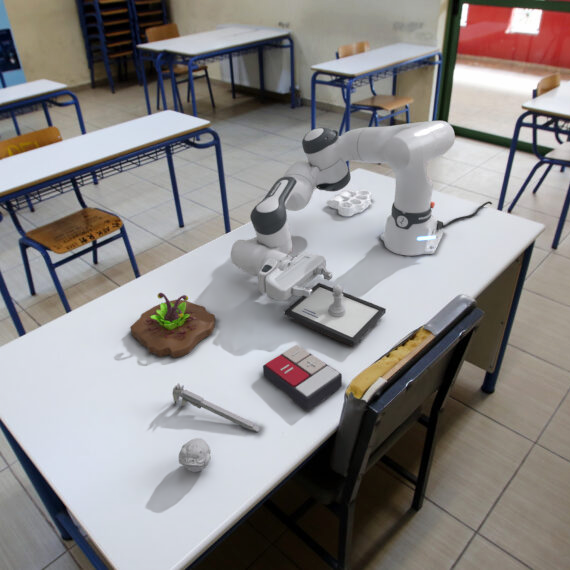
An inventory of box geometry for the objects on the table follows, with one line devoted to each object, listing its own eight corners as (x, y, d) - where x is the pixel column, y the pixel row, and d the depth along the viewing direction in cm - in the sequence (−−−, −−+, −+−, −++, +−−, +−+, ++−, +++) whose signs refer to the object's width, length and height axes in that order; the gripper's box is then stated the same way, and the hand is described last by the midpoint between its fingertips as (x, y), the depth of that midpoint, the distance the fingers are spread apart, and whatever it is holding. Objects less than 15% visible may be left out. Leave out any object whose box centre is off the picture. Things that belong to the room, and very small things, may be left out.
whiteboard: (318, 292, 144) (318, 282, 142) (384, 318, 133) (386, 308, 131) (284, 320, 134) (284, 310, 132) (353, 352, 123) (354, 341, 121)
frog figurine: (176, 481, 95) (170, 457, 91) (187, 450, 100) (183, 427, 96) (207, 485, 94) (202, 462, 90) (217, 454, 99) (213, 430, 95)
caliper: (174, 404, 110) (170, 384, 107) (177, 401, 111) (172, 381, 108) (258, 433, 103) (256, 412, 100) (260, 429, 104) (258, 408, 101)
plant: (174, 298, 143) (168, 265, 137) (226, 322, 134) (223, 288, 127) (119, 336, 130) (109, 302, 123) (172, 366, 120) (165, 330, 114)
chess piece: (348, 315, 130) (350, 289, 125) (331, 318, 129) (332, 293, 124) (342, 304, 134) (343, 279, 129) (325, 308, 133) (326, 283, 128)
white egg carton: (346, 193, 199) (379, 202, 192) (322, 209, 188) (356, 220, 180) (347, 185, 197) (380, 193, 190) (322, 201, 186) (356, 211, 178)
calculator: (296, 341, 121) (342, 371, 111) (297, 355, 123) (342, 386, 113) (261, 363, 115) (306, 397, 105) (263, 377, 117) (307, 411, 107)
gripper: (301, 261, 146) (341, 277, 139) (256, 295, 133) (298, 314, 126) (301, 243, 142) (342, 257, 135) (254, 275, 129) (298, 293, 122)
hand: (321, 285), depth 130 cm, fingers open, 8 cm apart
